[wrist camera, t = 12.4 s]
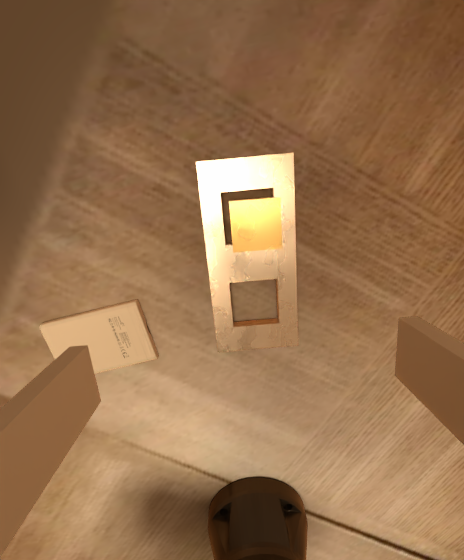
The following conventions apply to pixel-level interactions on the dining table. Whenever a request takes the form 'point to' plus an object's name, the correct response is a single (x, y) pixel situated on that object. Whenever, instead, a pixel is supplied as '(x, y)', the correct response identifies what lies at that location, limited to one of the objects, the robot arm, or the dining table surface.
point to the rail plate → (251, 263)
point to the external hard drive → (104, 336)
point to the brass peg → (256, 224)
